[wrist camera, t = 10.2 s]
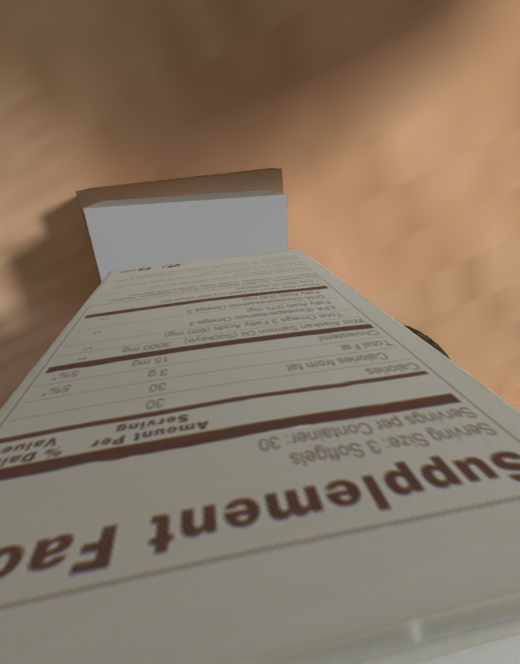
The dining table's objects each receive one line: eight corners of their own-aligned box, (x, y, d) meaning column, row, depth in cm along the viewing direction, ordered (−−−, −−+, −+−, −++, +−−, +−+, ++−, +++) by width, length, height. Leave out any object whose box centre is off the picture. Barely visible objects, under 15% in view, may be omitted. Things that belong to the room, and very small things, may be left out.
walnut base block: (92, 187, 24) (75, 191, 20) (268, 168, 25) (281, 168, 22) (136, 345, 29) (129, 370, 26) (280, 322, 31) (292, 343, 27)
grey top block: (101, 200, 21) (83, 208, 17) (271, 189, 22) (286, 194, 18) (136, 352, 25) (127, 383, 21) (276, 334, 26) (289, 361, 23)
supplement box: (305, 398, 17) (531, 855, 6) (145, 424, 16) (41, 1036, 5) (303, 242, 14) (802, 577, 3) (104, 262, 13) (-502, 947, 2)
